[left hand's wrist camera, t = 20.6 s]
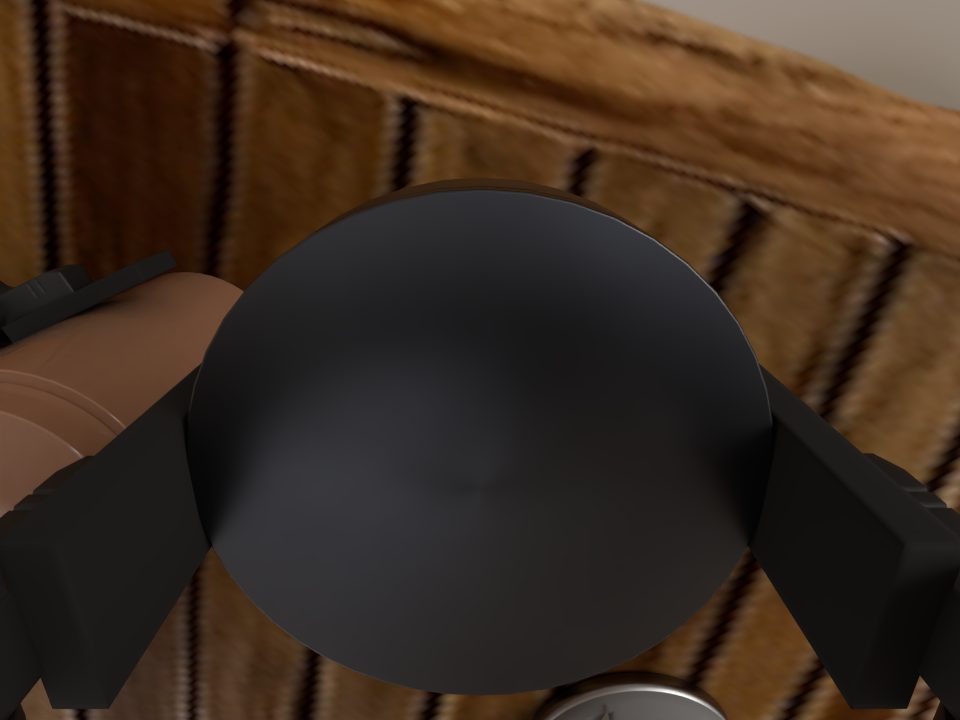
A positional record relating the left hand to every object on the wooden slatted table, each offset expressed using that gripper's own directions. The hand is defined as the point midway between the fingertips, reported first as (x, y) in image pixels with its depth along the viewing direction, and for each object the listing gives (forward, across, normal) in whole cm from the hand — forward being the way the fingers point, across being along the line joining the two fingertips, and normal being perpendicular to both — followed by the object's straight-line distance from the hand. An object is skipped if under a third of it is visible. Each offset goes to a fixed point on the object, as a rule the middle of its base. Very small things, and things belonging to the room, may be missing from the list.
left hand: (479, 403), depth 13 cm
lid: (-3, 0, 0) cm, 3 cm away
